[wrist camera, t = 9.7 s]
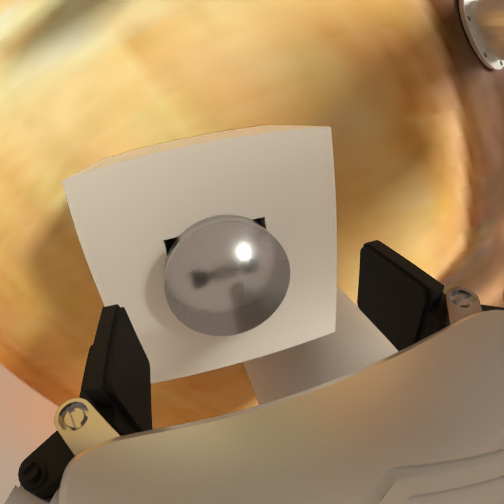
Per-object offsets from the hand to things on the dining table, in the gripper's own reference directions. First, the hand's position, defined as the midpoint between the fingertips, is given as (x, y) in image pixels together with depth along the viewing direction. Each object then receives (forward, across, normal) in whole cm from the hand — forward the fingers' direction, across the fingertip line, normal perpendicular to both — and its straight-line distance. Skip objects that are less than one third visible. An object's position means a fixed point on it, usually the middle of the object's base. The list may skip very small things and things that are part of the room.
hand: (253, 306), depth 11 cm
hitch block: (+13, +1, 0) cm, 13 cm away
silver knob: (+12, +1, 0) cm, 12 cm away
